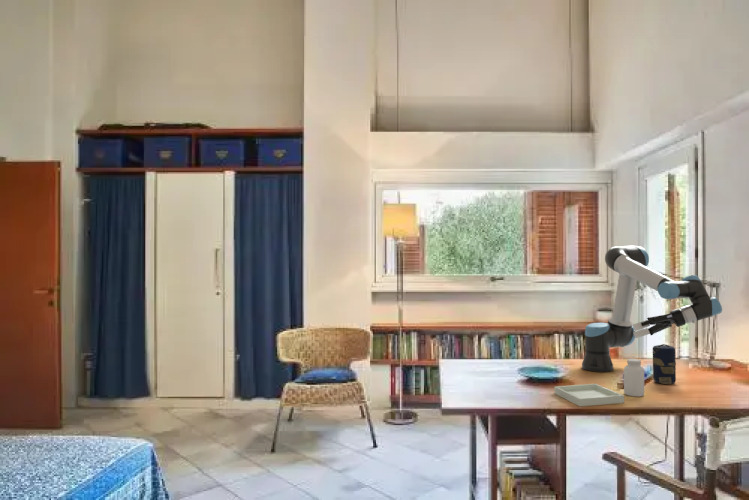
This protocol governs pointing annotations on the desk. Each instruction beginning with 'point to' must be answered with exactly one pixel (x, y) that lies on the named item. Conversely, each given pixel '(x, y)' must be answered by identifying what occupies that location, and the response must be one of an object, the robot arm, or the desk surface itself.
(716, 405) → the desk surface
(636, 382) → the pill bottle
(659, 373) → the canister
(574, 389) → the tray
